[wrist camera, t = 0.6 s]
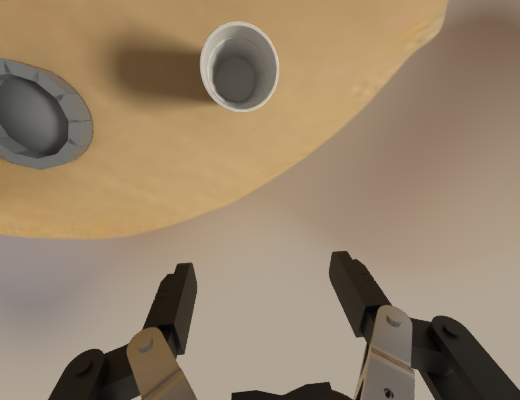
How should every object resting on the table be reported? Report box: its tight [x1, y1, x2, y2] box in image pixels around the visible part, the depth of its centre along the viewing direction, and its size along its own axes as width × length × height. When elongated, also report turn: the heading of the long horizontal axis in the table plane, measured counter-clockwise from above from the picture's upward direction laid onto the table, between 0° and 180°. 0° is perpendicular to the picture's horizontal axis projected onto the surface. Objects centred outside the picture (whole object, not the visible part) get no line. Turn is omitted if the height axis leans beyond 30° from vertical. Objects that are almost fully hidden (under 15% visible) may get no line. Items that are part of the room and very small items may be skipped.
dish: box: [0, 58, 93, 170], centre depth 30 cm, size 13×13×3 cm
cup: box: [200, 21, 279, 112], centre depth 28 cm, size 8×8×12 cm
